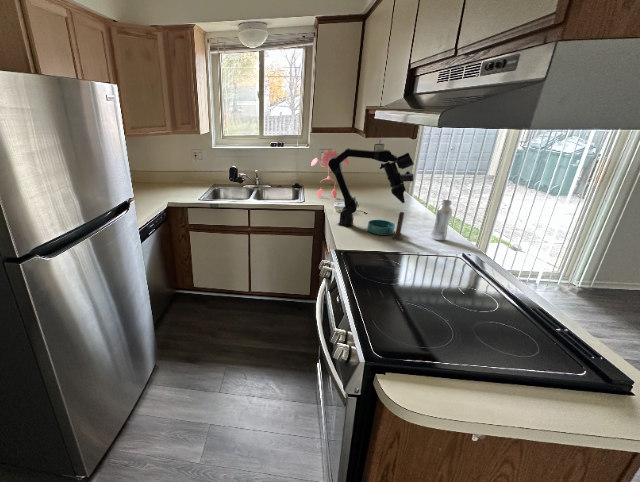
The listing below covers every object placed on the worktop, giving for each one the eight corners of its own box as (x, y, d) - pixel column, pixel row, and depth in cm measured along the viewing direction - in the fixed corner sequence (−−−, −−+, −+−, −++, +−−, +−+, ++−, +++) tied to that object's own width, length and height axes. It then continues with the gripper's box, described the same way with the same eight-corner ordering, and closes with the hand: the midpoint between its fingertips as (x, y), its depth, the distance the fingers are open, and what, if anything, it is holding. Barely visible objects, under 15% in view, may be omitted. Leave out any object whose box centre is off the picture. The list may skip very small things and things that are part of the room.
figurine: (309, 195, 243) (312, 148, 231) (344, 197, 238) (349, 148, 225) (308, 200, 230) (311, 150, 217) (345, 202, 224) (351, 151, 211)
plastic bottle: (440, 242, 156) (450, 203, 148) (427, 238, 161) (436, 200, 154) (448, 240, 158) (458, 201, 151) (435, 236, 164) (444, 198, 157)
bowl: (363, 232, 170) (364, 224, 169) (372, 225, 179) (373, 218, 178) (388, 237, 162) (390, 229, 161) (396, 230, 171) (398, 223, 170)
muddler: (392, 238, 161) (396, 212, 156) (394, 236, 164) (399, 210, 158) (399, 240, 159) (404, 213, 154) (401, 238, 161) (406, 212, 156)
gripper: (410, 169, 151) (422, 199, 154) (407, 163, 167) (418, 190, 170) (386, 179, 157) (397, 207, 159) (386, 172, 173) (396, 198, 175)
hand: (403, 200), depth 166 cm, fingers open, 9 cm apart
